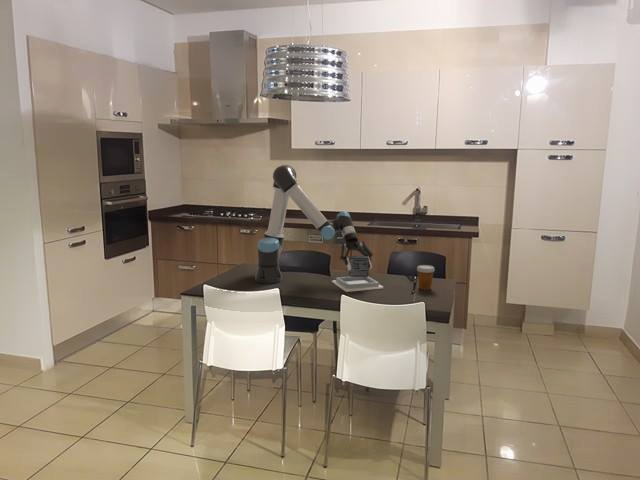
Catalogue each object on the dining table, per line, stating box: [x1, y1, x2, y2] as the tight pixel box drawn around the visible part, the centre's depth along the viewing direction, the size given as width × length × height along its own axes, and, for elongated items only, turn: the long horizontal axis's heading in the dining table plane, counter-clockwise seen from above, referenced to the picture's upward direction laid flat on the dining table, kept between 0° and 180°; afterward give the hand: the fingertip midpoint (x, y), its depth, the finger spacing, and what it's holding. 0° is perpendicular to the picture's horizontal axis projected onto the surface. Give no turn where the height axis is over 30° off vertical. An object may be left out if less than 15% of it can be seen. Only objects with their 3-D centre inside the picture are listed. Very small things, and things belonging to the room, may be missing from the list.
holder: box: [331, 276, 384, 293], centre depth 280 cm, size 22×20×3 cm
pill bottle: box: [416, 264, 436, 291], centre depth 276 cm, size 10×10×12 cm
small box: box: [348, 255, 370, 277], centre depth 278 cm, size 11×6×10 cm, turn 89°
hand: (360, 268), depth 276 cm, fingers closed on small box, 11 cm apart
